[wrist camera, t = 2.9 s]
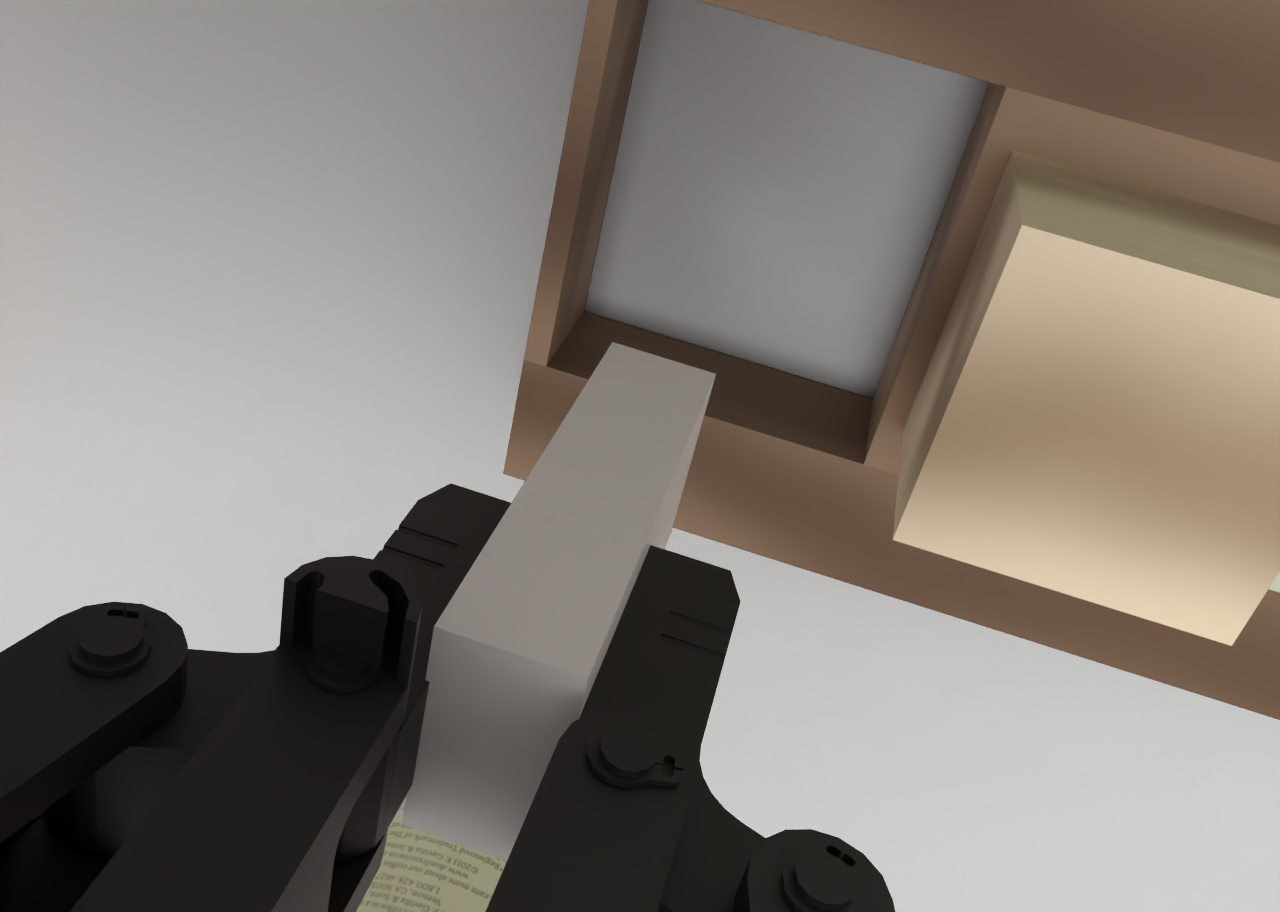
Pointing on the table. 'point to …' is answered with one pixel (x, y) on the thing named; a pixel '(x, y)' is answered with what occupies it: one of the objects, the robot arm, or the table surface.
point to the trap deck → (931, 290)
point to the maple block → (1107, 402)
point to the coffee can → (430, 874)
